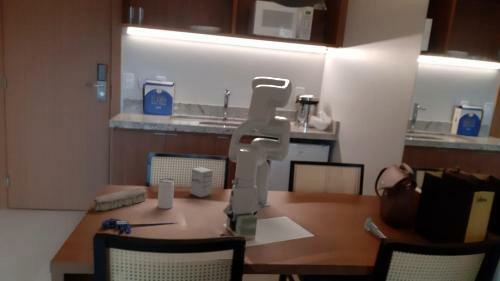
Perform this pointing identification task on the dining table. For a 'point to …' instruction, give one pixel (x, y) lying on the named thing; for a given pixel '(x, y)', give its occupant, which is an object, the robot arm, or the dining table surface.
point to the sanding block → (244, 226)
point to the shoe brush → (119, 199)
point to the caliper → (372, 228)
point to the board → (276, 231)
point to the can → (165, 193)
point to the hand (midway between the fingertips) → (240, 228)
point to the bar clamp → (124, 224)
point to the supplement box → (201, 181)
